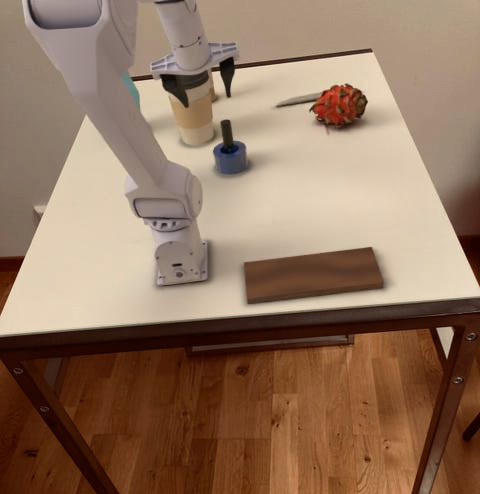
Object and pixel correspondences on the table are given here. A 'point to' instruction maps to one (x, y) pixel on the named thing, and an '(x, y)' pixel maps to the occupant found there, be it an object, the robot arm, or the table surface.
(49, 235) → the table surface
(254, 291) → the cutting board
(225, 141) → the screwdriver
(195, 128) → the coffee cup
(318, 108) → the dragon fruit
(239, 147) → the utensil cup
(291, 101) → the chef's knife
